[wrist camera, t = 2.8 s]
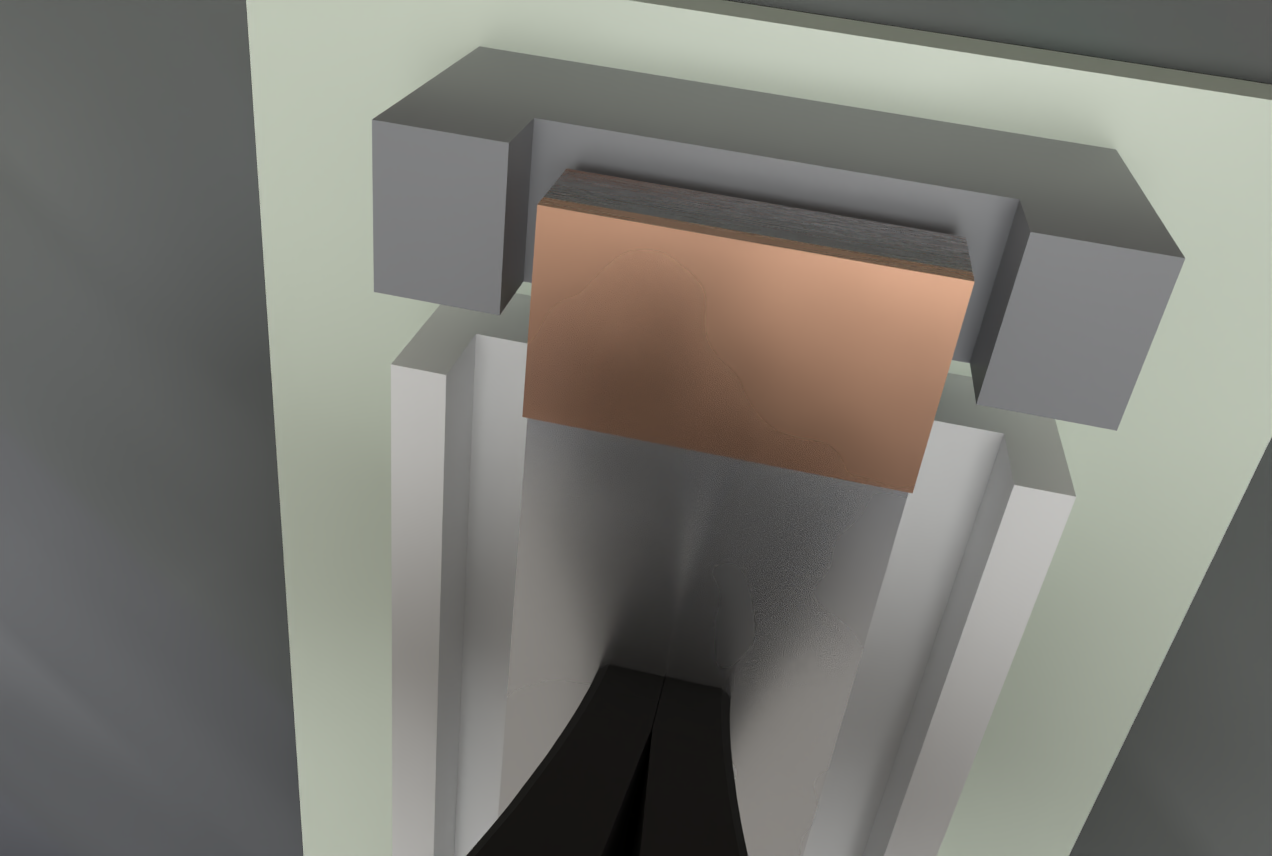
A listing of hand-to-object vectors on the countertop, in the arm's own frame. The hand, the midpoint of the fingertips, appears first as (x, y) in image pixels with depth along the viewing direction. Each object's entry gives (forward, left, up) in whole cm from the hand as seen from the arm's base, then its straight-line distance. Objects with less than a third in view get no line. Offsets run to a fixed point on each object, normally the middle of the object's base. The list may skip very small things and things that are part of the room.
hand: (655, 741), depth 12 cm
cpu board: (-2, 0, -4) cm, 5 cm away
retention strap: (-1, 0, -1) cm, 2 cm away
